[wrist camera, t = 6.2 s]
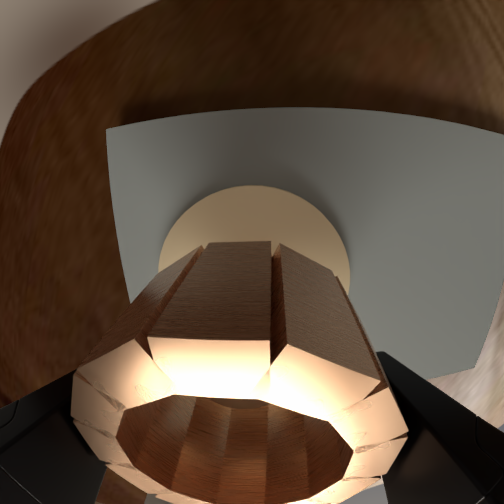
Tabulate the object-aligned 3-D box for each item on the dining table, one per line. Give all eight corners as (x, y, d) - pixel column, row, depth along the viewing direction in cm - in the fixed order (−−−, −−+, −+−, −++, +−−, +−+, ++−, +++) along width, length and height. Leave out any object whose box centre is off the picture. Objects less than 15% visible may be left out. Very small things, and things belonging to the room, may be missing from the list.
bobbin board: (504, 138, 10) (601, 150, 4) (466, 357, 15) (515, 429, 8) (118, 130, 12) (3, 126, 5) (161, 376, 16) (120, 470, 9)
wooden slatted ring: (369, 238, 7) (454, 324, 3) (342, 414, 9) (360, 509, 5) (121, 245, 7) (21, 319, 4) (165, 411, 9) (133, 499, 6)
